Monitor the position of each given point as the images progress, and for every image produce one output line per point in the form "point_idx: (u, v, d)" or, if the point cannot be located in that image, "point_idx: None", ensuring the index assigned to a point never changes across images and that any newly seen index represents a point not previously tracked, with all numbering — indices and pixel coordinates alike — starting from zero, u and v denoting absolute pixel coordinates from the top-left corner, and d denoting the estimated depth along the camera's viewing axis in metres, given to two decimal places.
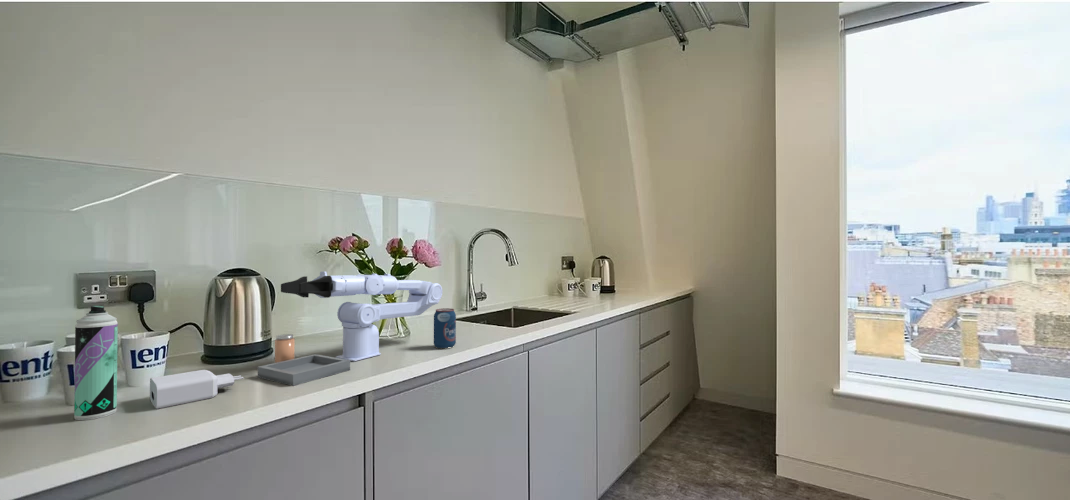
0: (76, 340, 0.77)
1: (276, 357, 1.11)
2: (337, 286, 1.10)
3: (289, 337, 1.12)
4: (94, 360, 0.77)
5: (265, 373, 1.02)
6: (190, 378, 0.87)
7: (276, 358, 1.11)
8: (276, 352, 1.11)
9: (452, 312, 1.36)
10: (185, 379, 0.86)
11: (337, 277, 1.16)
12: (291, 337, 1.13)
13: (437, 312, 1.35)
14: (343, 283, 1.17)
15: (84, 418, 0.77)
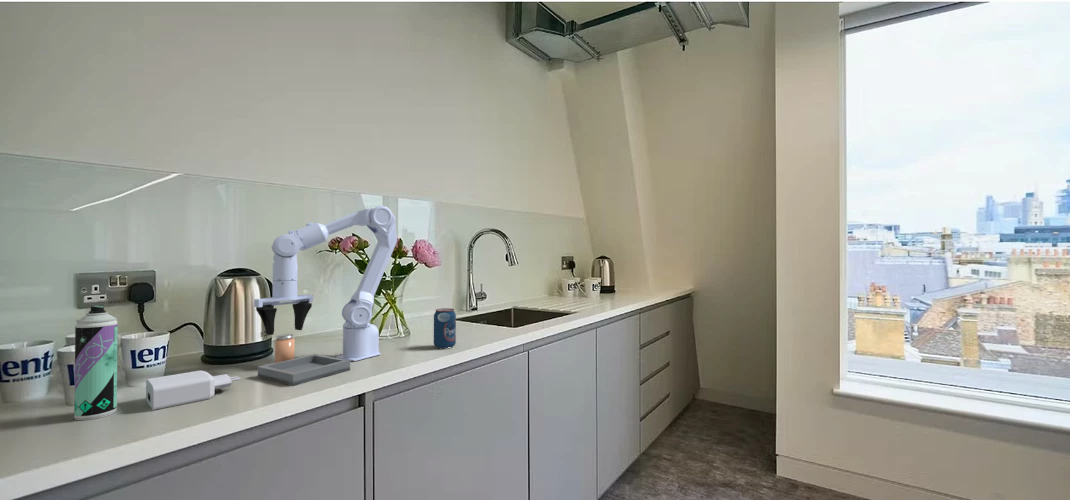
0: (76, 340, 0.77)
1: (276, 357, 1.11)
2: (256, 304, 1.07)
3: (289, 337, 1.12)
4: (94, 360, 0.77)
5: (265, 373, 1.02)
6: (187, 379, 0.86)
7: (276, 358, 1.11)
8: (276, 352, 1.11)
9: (452, 312, 1.36)
10: (182, 380, 0.86)
11: None
12: (291, 337, 1.13)
13: (437, 312, 1.35)
14: (273, 283, 1.11)
15: (84, 418, 0.77)
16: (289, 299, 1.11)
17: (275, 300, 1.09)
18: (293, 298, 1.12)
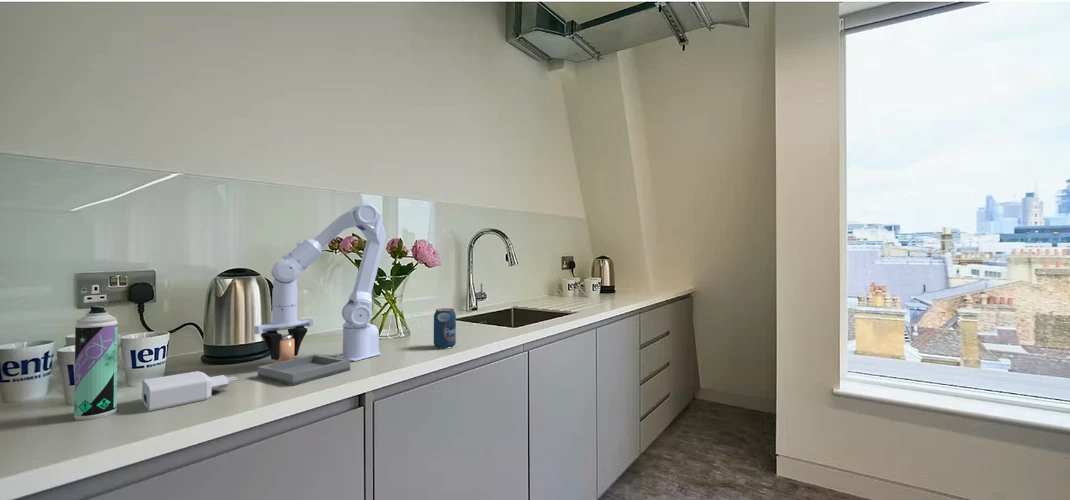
0: (76, 340, 0.77)
1: None
2: (256, 331, 1.07)
3: (289, 337, 1.12)
4: (94, 360, 0.77)
5: (265, 373, 1.02)
6: (183, 380, 0.86)
7: None
8: None
9: (452, 312, 1.36)
10: (178, 381, 0.85)
11: None
12: (291, 337, 1.13)
13: (437, 312, 1.35)
14: (273, 309, 1.11)
15: (84, 418, 0.77)
16: (289, 325, 1.11)
17: (275, 326, 1.09)
18: (293, 324, 1.12)
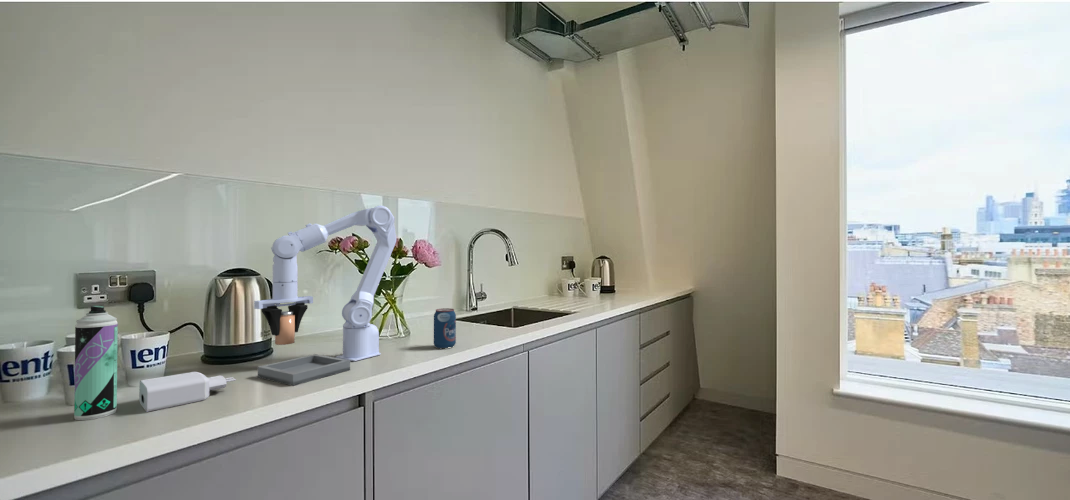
0: (76, 340, 0.77)
1: None
2: (256, 306, 1.07)
3: (289, 313, 1.13)
4: (94, 360, 0.77)
5: (265, 373, 1.02)
6: (181, 380, 0.85)
7: None
8: None
9: (452, 312, 1.36)
10: (176, 381, 0.85)
11: None
12: (291, 313, 1.13)
13: (437, 312, 1.35)
14: (273, 285, 1.11)
15: (84, 418, 0.77)
16: (289, 301, 1.11)
17: (275, 302, 1.09)
18: (293, 299, 1.12)
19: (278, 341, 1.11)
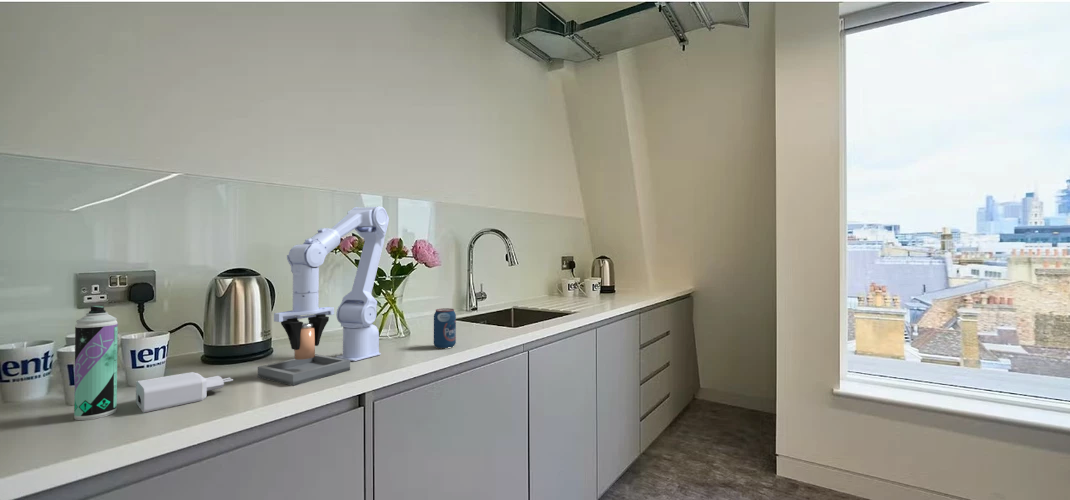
0: (76, 340, 0.77)
1: None
2: (276, 319, 1.00)
3: (309, 326, 1.06)
4: (94, 360, 0.77)
5: (265, 373, 1.02)
6: (178, 381, 0.85)
7: None
8: None
9: (452, 312, 1.36)
10: (173, 382, 0.84)
11: None
12: (311, 326, 1.07)
13: (437, 312, 1.35)
14: (293, 295, 1.05)
15: (84, 418, 0.77)
16: (310, 312, 1.05)
17: (296, 314, 1.03)
18: (314, 311, 1.06)
19: (297, 355, 1.05)
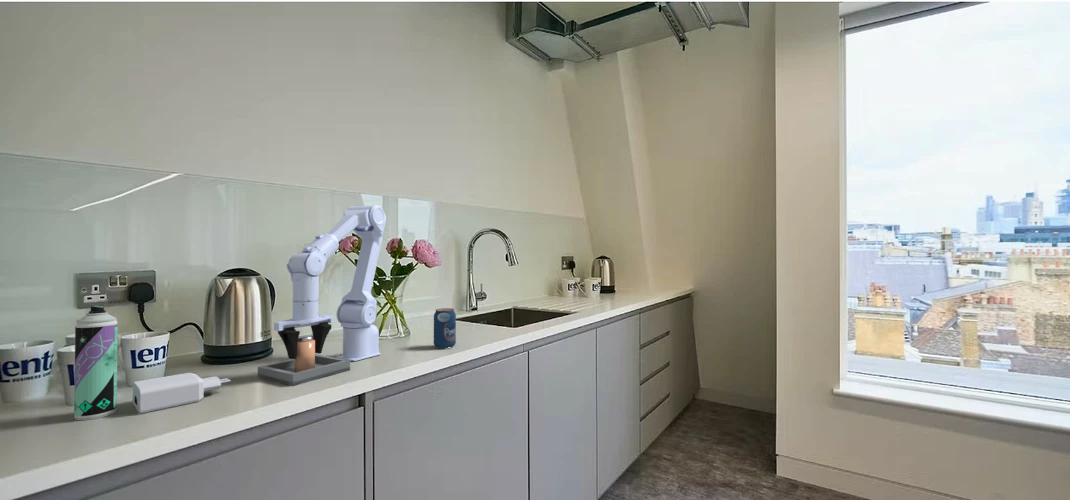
0: (76, 340, 0.77)
1: (296, 359, 1.05)
2: (276, 328, 1.00)
3: (309, 338, 1.06)
4: (94, 360, 0.77)
5: (265, 373, 1.02)
6: (175, 381, 0.85)
7: (296, 361, 1.05)
8: None
9: (452, 312, 1.36)
10: (170, 382, 0.84)
11: None
12: (311, 338, 1.07)
13: (437, 312, 1.35)
14: (293, 304, 1.05)
15: (84, 418, 0.77)
16: (310, 321, 1.05)
17: (296, 323, 1.03)
18: (314, 320, 1.06)
19: (297, 368, 1.05)
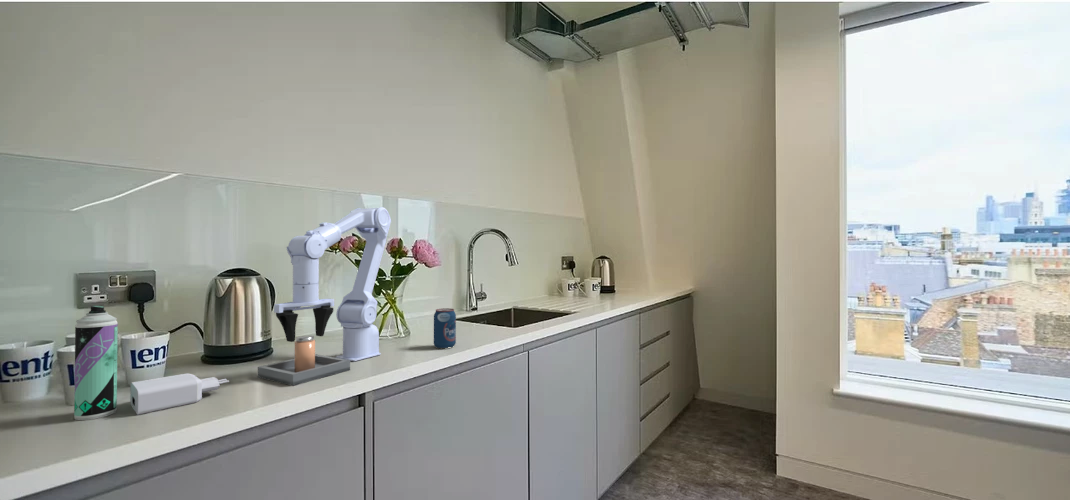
0: (76, 340, 0.77)
1: (296, 360, 1.05)
2: (276, 310, 1.00)
3: (309, 339, 1.06)
4: (94, 360, 0.77)
5: (265, 373, 1.02)
6: (173, 382, 0.84)
7: (296, 361, 1.05)
8: (296, 355, 1.05)
9: (452, 312, 1.36)
10: (168, 383, 0.83)
11: None
12: (311, 339, 1.07)
13: (437, 312, 1.35)
14: (293, 287, 1.05)
15: (84, 418, 0.77)
16: (310, 304, 1.05)
17: (296, 305, 1.03)
18: (315, 303, 1.06)
19: (297, 368, 1.05)
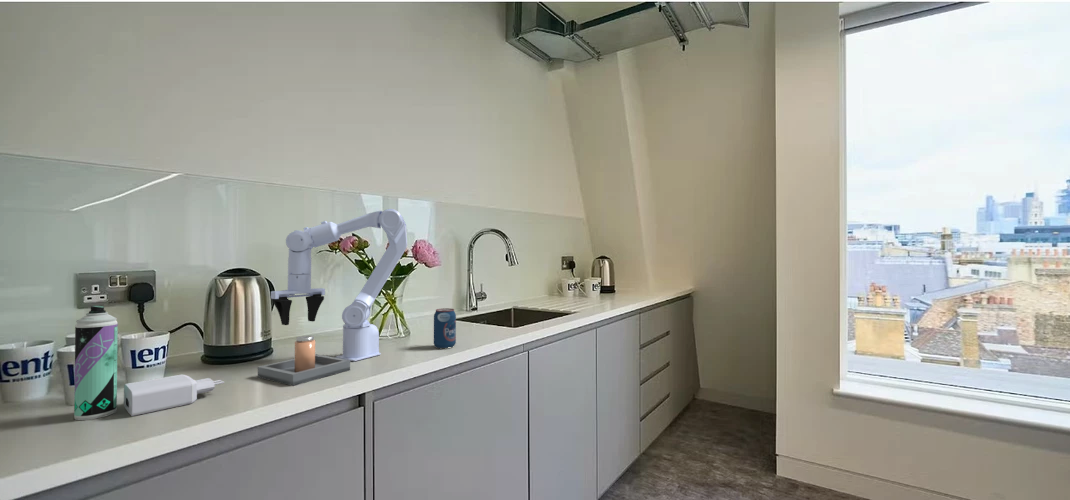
0: (76, 340, 0.77)
1: (296, 360, 1.05)
2: (273, 296, 1.14)
3: (310, 339, 1.06)
4: (94, 360, 0.77)
5: (265, 373, 1.02)
6: (168, 383, 0.83)
7: (296, 361, 1.05)
8: (296, 355, 1.05)
9: (452, 312, 1.36)
10: (162, 384, 0.83)
11: None
12: (312, 339, 1.07)
13: (437, 312, 1.35)
14: (288, 276, 1.18)
15: (84, 418, 0.77)
16: (303, 292, 1.18)
17: (290, 292, 1.16)
18: (307, 291, 1.19)
19: (297, 368, 1.05)
